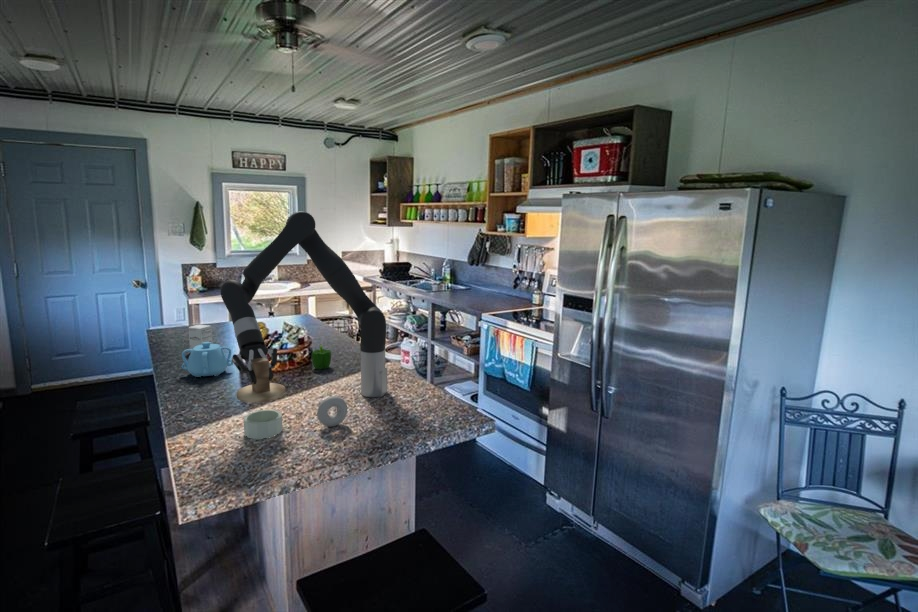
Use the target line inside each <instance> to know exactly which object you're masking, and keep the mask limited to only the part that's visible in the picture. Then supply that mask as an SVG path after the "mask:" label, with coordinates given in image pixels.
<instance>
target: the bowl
mask: <svg viewBox="0 0 918 612" xmlns="http://www.w3.org/2000/svg"><path fill="white" fill-rule="evenodd" d="M243 431H244V433H243V435H245V436H244V437H246V436H247V437H246V438H248V439H249V438H254V439H253V440H264V439H263V438H267V439H270V438H269V437H271V438H273V437H272V436H274V435H277V434H278V435H280V434H281V433H282V432H283V413H282V412H281V411H279V410H278V409H258V410H256V411H251V412H249V413H248V414H246V415H244V416H243ZM281 431H282V432H281ZM280 432H281V433H280ZM279 433H280V434H279ZM278 435H277V436H278ZM274 437H275V436H274Z"/></svg>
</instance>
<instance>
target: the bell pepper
mask: <svg viewBox="0 0 918 612" xmlns="http://www.w3.org/2000/svg"><path fill="white" fill-rule="evenodd" d="M331 360H332V352H331V350H330V349H325V348H323V345H322V344H319V349H315V350H314V351H312V352H311V362H312V364H313V367H314V369H315V370H323V369H325V370H327V369H329V367H330V364H331Z"/></svg>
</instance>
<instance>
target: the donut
mask: <svg viewBox="0 0 918 612" xmlns="http://www.w3.org/2000/svg"><path fill="white" fill-rule="evenodd" d="M333 407H335V408H336V413H335V414H333V415H330V414H329V410H330V409H331V408H333ZM348 411H349V408H348V403H347V402H346V400H345V399H344V398H342V397H341V396H336V395H332V396H328V397H326V398H324V399H323V400H322V401H321V402H320V404H319V405H318V407H317V411H316V415H317V420H318V421H319V422H320V424H321V425H323V426H326V427H329V428H330V427H335V426H337V425H340V424H341V423H342V422H343V421H344V420H345V419H346V417H347V414H348Z"/></svg>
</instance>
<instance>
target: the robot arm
mask: <svg viewBox="0 0 918 612" xmlns="http://www.w3.org/2000/svg"><path fill="white" fill-rule="evenodd" d="M297 245H299V246H300V247H301V249H303V251H304V252H305V253H306V254H307V256H308V257H309V259H310V260H311V261H312V263H313V265H314V266H315V267H316V269H317V270H318V272H319V273H320V275H322V277H323V279H324V280H325V281H326V282H327V284H328V285H329V286H330V288H331V289H332V290H333V291H334V292H335V293H336V294H337V295H338V296H339V297H340V298H341V299H343V300H344V301H345V302H346V303H347V305H349V306H350V308H351V310H352V311H353V313H354V314H355V316H356V318H357V319H358V321H359V324H360V326H359V327H360V343H359V347H360V351H359V353H360V390H361V391H360V394H361V396H362V397H367V398H381V397H383V396H384V395H385V394H386V393H388V368H387V367H386V342H387V320H386V316H385V315H384V313H383V311H382V310H381V308H379V307H378V306H377V305H376V304H375V302H374V301H372V300H371V299H370V298H369V296H368V295H367V294H366V293H365V292H364V290H363V288H362V287H361V284H360V283H359V281H358V279H357V277H356V276H355V274H354V273H353V272H352V270H351V269H350V268H349V266H348V265H347V263H346V262H345V261H344V260H343V258H342V257H340V255H338V253H336V252H335V251H334V250H333V249H332V248H331V247H330V246H328V244H327V243H325V241H324V240H323V239H322V237H321V235H320V234H319V233H318V230H316V220H315V218H314V217H313V215H312V214H311V213H309V212H306V211H302V210H301V211H296V212H293V213H292V214H291V215H290V216H289V217H287V220H286V222H285V225H284V227H283V229H282V230H281V231H280V232H279V234H278V235H277V236H276V237H275V238H274V239H273V241H271V242H270V243H269V244H268V245H267V246H266V247H265V248H263V249H262V250H261V252H259V254H257V255H256V256H255V257H254V258H253V259H252V260H251V261H250V262H249V263H248V264H247V266H246V267H244V268H243V270H242V274H243V277H244V278H243V281H242V283H241V282H240V281H238V280H236V279H227V280H225V281H224V282H223V284H222V285H221V287H220V297H221V300H222V301H223V304H224V306H225V308H226V309H227V311H228V312H229V315H230V319H231V321H232V325H233V330H234V332H233V333H234V336H235V338H236V339H235V340H236V343H237V346H238V349H239V353H237V354H234V353H233V354H232V356H231V357H232V358H231V360H232V362H233V365H234V366H235V367H236V369H237V370H238V371H239V372H240V374H246V375H247V376H248V379H249V382H250V383H251V384H252V383H253V384H256V382H257V380H256V377H255V373H254V371H253V370H252V369H253V367H252V362H251V360H252V359H257V358H266V359H267V360H269V359H268V358H267V354H268V355H269V357H270V358H271V359H270V362H269V381H270V382H272V381H273V379H274V372H273V369H275V367H276V366H277V362H278V361H277V359H278V348H273V349H269V348H268V347H267V346H266V344H265V341H264V337H263V334H262V331H261V328H260V325H259V322H258V321H257V319H256V314H255V312H254V309H253V307H252V306H251V305H250V304H249V303H250V302H251V301H252V300H253V299H254V297H255V295H256V294H257V292H258V290H259V288H260V286H261V284H262V283H264V281H265V280H266V278H268V276H270V274H272V272H273V271H274V270H275V269H276V267H277V266H278V265H279V264H280V263H281V262H282V260H283V259H284V258H286V256H287V255H288V254H289V253H290V252H291V251H292V250H293V249H294V248H295V247H297ZM241 359H243V360H244V361H245V362H247V363H246V365H244V363H243V361H242V360H241Z"/></svg>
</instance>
